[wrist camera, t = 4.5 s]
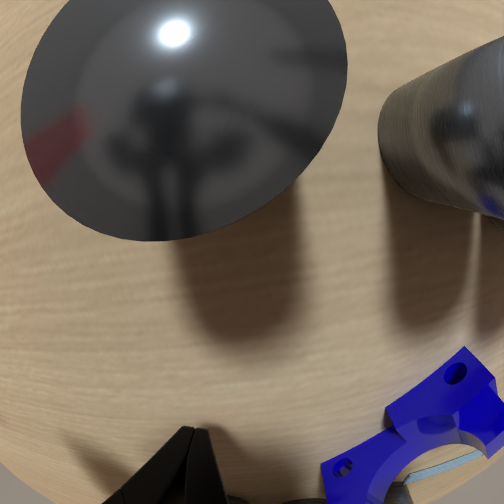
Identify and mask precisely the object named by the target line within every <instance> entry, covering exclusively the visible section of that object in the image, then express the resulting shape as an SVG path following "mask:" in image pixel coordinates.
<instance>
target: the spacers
mask: <svg viewBox="0 0 504 504" xmlns="http://www.w3.org/2000/svg"><path fill="white" fill-rule="evenodd" d="M347 66H348V62H347V52H346V43H345V39H344V36H343V32H342V28H341V25H340V22H339V20H338V18H337V16H336V14H335V12H334V10H333V8H332V6H331V4H330V3H329V1H328V0H69V1H68V2H67V4H66V5H65V6H64V7H63V8H62V9H61V10H60V12H59V13H58V14H57V15H56V17H55V18H54V19H53V21H52V22H51V24H50V25H49V27H48V28H47V30H46V31H45V33H44V35H43V36H42V38H41V40H40V42H39V44H38V46H37V48H36V50H35V52H34V54H33V57H32V60H31V62H30V65H29V68H28V71H27V75H26V79H25V83H24V87H23V93H22V101H21V129H22V137H23V143H24V147H25V151H26V155H27V158H28V161H29V163H30V166H31V168H32V170H33V173H34V175H35V176H36V178H37V180H38V182H39V183H40V185H41V187H42V188H43V190H44V191H45V192H46V193H47V195H48V196H49V197H50V198H51V199H52V201H53V202H54V203H55V204H56V205H57V206H58V207H60V208H61V209H62V210H63V211H64V212H65V213H66V214H67V215H69V216H70V217H72V218H73V219H75V220H76V221H78V222H79V223H81V224H82V225H84V226H87V227H89V228H91V229H93V230H95V231H98V232H100V233H103V234H106V235H110V236H113V237H117V238H120V239H128V240H135V241H170V240H177V239H184V238H190V237H194V236H197V235H201V234H204V233H208V232H211V231H215V230H217V229H219V228H222V227H224V226H226V225H229V224H231V223H233V222H236V221H238V220H240V219H242V218H244V217H245V216H247V215H249V214H250V213H252V212H254V211H256V210H257V209H259V208H261V207H262V206H264V205H265V204H266V203H268V202H269V201H270V200H272V199H273V198H274V197H276V196H277V195H278V194H280V193H281V192H282V191H284V190H285V189H286V188H287V187H288V186H289V185H290V184H291V183H292V182H293V181H294V180H295V179H296V178H297V177H298V176H299V175H300V174H301V173H302V172H303V171H304V170H305V169H306V167H307V166H308V165H309V164H310V162H311V161H312V160H313V158H314V157H315V156H316V155H317V153H318V152H319V151H320V149H321V147H322V146H323V144H324V142H325V141H326V139H327V137H328V136H329V134H330V132H331V130H332V128H333V126H334V123H335V121H336V119H337V116H338V114H339V111H340V109H341V105H342V101H343V97H344V93H345V88H346V81H347ZM378 138H379V145H380V149H381V153H382V156H383V159H384V162H385V164H386V166H387V168H388V170H389V171H390V173H391V175H392V176H393V178H394V179H395V180H396V181H397V183H398V184H399V185H400V186H401V187H402V188H403V189H404V190H406V191H407V192H408V193H410V194H411V195H413V196H415V197H417V198H419V199H422V200H426V201H430V202H435V203H440V204H444V205H448V206H452V207H457V208H461V209H465V210H469V211H473V212H477V213H480V214H484V215H487V216H488V218H489V219H490V221H491V222H492V224H493V225H494V226H495V227H497V228H498V229H500V230H503V231H504V36H503V37H500V38H498V39H496V40H493V41H491V42H489V43H487V44H484V45H482V46H480V47H478V48H476V49H474V50H471V51H469V52H467V53H465V54H463V55H461V56H459V57H457V58H455V59H453V60H451V61H449V62H447V63H445V64H443V65H441V66H439V67H437V68H435V69H433V70H431V71H429V72H427V73H425V74H423V75H421V76H420V77H418V78H416V79H414V80H412V81H410V82H408V83H407V84H405V85H403V86H401V87H399V88H398V89H396V90H395V91H394V92H392V93H391V94H390V95H389V97H388V98H387V99H386V101H385V103H384V105H383V107H382V110H381V112H380V117H379V123H378ZM227 498H228V502H229V504H248V503H247V502H245V501H244V500H241V499H239V498H236V497H232V496H227ZM284 504H327V500H325V499H303V500H296V501H291V502H287V503H284ZM383 504H414V503H413V501H412V498H411V495H410V493H409V490H408V487H407V485H406V484H403V482H394V483H391V485H390V487H389V489H388V491H387V493H386V496H385V499H384V502H383Z"/></svg>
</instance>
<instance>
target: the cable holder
mask: <svg viewBox="0 0 504 504" xmlns="http://www.w3.org/2000/svg"><path fill="white" fill-rule="evenodd" d="M385 408H386V410H387V412H388V414H389V416H390V418H391V420H392V423H393V425H392V426H390V427H389V428H387V429H385V430H384V431H382V432H380V433H379V434H377V435H375V436H374V437H372V438H370V439H368V440H367V441H365V442H363V443H361V444H359V445H358V446H356V447H354V448H352V449H350V450H348V451H346V452H344V453H342V454H340V455H338V456H336V457H334V458H332V459H330V460H328V461H325V462H323V463H321V469H322V475H323V481H324V486H325V492H326V498H327V504H383V502H384V499H385V496H386V493H387V491H388V489H389V487H390V485H391V483H392V482H393V480H394V479H395V477H396V476H397V475H398V474H399V472H400V471H401V470H402V469H403V468H404V467H405V466H406V465H407V464H409V463H410V462H411V461H412V460H414V459H415V458H416V457H418V456H420V455H421V454H423V453H425V452H427V451H429V450H431V449H433V448H436V447H439V446H443V445H448V444H465V445H469V446H472V447H475V448H476V449H478V450H480V451H481V452H482V453H483V454H484V455H485V456H486V457H487V459H489V458H490V457H491V456H492V455H494V454H495V453H496V452H497V451H498V450H500V449H501V448H502V447H503V446H504V402H503V401H502V400H501V399H500V398H499V397H498V394H497V387H496V380H495V377H494V376H493V375H492V374H491V373H490V372H489V371H488V370H487V369H486V368H485V366H484V365H483V364H482V363H481V362H480V361H479V360H478V359H477V358H476V357H475V356H474V355H473V354H472V353H471V352H470V351H469V350H468V349H467V348H466V347H465V346H464V347H463V348H462V349H460V350H459V351H458V352H457V353H456V354H455V355H454V356H453V357H451V358H450V359H449V360H448V361H447V362H446V363H444V364H443V365H442V366H441V367H440V368H438V369H437V370H436V371H435V372H434V373H432V374H431V375H430V376H429V377H427V378H426V379H425V380H423V381H422V382H421V383H419V384H418V385H417V386H415V387H414V388H413V389H411V390H410V391H409V392H407V393H406V394H404V395H403V396H402V397H400V398H399V399H397V400H396V401H394V402H393V403H391V404H390V405H388V406H387V407H385Z"/></svg>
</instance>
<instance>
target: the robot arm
mask: <svg viewBox="0 0 504 504" xmlns="http://www.w3.org/2000/svg"><path fill="white" fill-rule="evenodd" d="M102 504H229V502H228V498H227V495H226V492H225V489H224V485H223V482H222V479H221V475H220V472H219V468H218V465H217V461H216V458H215V454H214V450H213V446H212V443H211V439H210V435H209V431H208V429H205V428H196V429H195V428H194V427H190V426H182V427H181V428H180V429H179V430H178V431H177V432H176V433H175V434H174V435H173V436H172V437H171V438H170V439H169V440H168V441H167V442H166V443H165V444H164V446H163V447H162V448H161V449H160V450H159V451H158V452H157V453H156V454H155V455H154V456H153V457H152V458H151V459H150V460H149V461H148V462H147V463H146V464H145V465H144V466H142V467H141V468H140V469H139V470H138V471H137V472H136V473H135V474H134V475H133V476H132V477H131V478H130V479H129V480H128V481H127V482H126V483H125V484H124V485H123V486H122V487H121V489H118V490H117V491H116V492H115V493H114V494H113V495H112V496H110V497H109V498H108V499H107V500H106V501H104V502H103V503H102Z"/></svg>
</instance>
